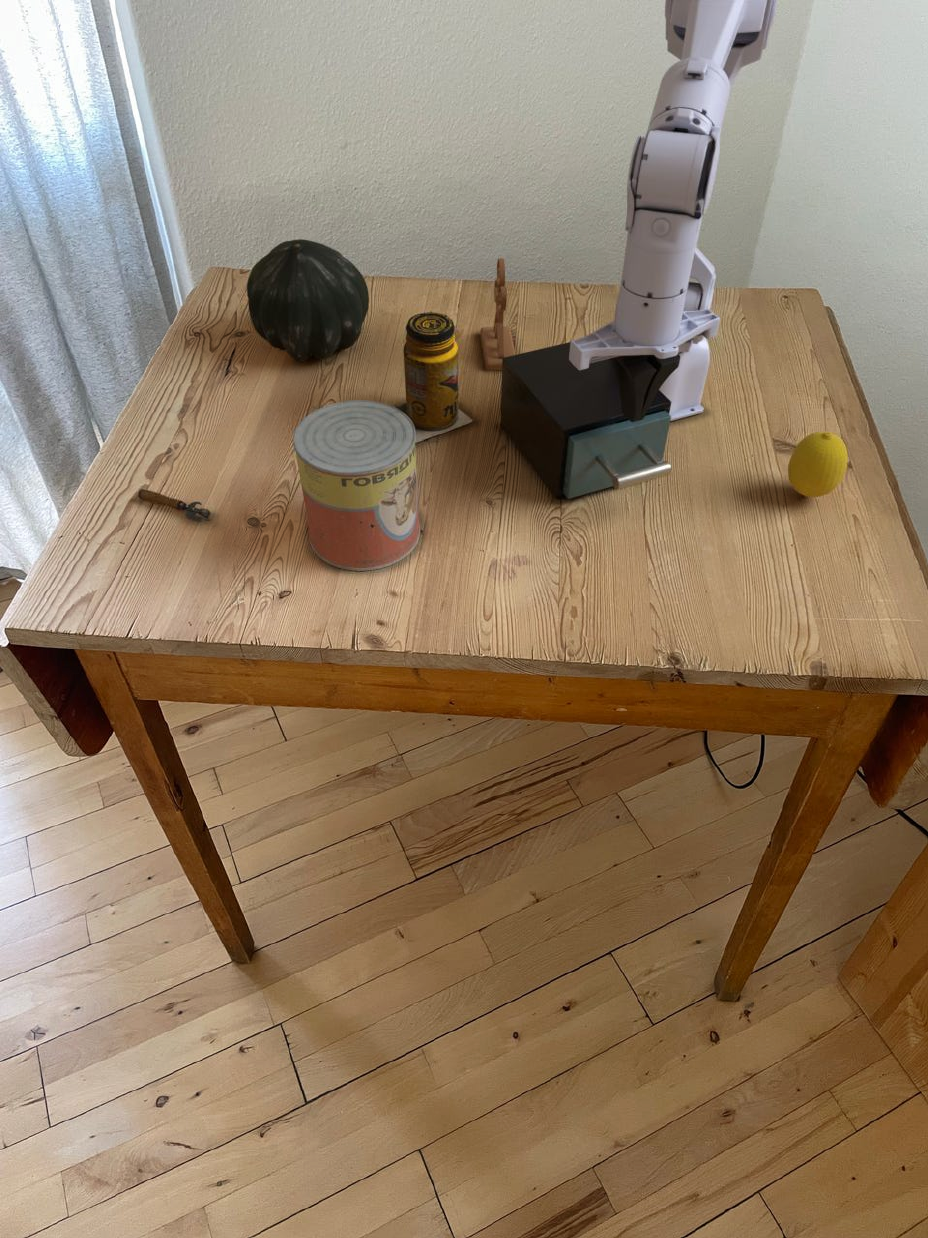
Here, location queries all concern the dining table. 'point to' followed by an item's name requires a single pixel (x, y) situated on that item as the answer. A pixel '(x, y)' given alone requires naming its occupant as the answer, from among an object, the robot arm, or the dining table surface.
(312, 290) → the squash
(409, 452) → the canned food
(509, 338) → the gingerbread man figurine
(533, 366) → the cabinet
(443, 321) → the condiment
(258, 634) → the dining table surface
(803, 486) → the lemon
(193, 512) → the can opener
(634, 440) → the drawer
